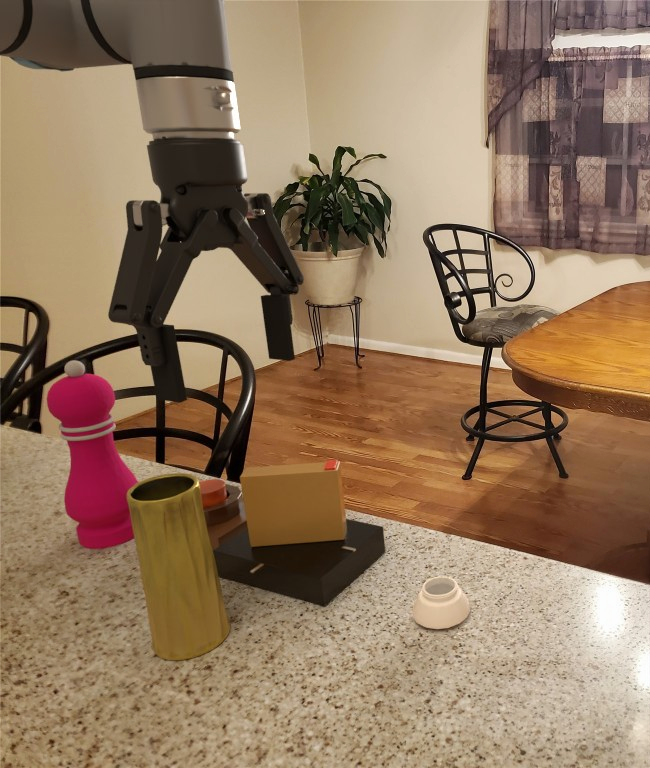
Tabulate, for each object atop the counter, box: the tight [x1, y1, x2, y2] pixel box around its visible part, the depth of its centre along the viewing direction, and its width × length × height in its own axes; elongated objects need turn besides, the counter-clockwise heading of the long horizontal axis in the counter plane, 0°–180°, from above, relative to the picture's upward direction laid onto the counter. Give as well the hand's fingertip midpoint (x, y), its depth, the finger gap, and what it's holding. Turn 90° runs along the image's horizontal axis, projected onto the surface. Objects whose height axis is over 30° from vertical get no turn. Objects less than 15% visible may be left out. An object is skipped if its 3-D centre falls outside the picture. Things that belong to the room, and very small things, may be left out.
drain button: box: [199, 478, 227, 507], centre depth 75 cm, size 4×4×2 cm
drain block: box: [203, 483, 248, 550], centre depth 76 cm, size 10×8×4 cm
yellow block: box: [239, 459, 347, 547], centre depth 67 cm, size 9×2×8 cm, turn 97°
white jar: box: [412, 575, 471, 630], centre depth 60 cm, size 5×3×5 cm
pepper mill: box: [46, 359, 140, 550], centre depth 73 cm, size 7×7×20 cm
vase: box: [127, 472, 231, 661], centre depth 57 cm, size 6×6×14 cm
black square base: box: [213, 518, 386, 607], centre depth 69 cm, size 13×13×3 cm
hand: (232, 377), depth 64 cm, fingers open, 13 cm apart
